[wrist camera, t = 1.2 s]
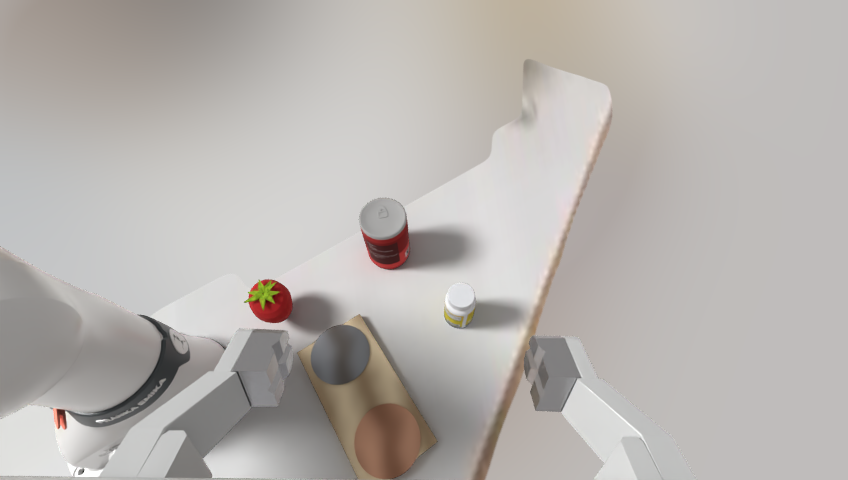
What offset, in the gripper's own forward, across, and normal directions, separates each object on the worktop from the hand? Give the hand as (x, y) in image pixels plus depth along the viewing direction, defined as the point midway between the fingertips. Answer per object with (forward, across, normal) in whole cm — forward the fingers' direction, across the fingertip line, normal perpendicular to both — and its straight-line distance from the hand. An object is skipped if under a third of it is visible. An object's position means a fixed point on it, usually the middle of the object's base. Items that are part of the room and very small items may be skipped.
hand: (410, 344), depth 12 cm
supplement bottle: (+34, +8, -34) cm, 49 cm away
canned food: (+45, -4, -30) cm, 54 cm away
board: (+23, -6, -40) cm, 46 cm away
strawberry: (+35, -21, -36) cm, 54 cm away
